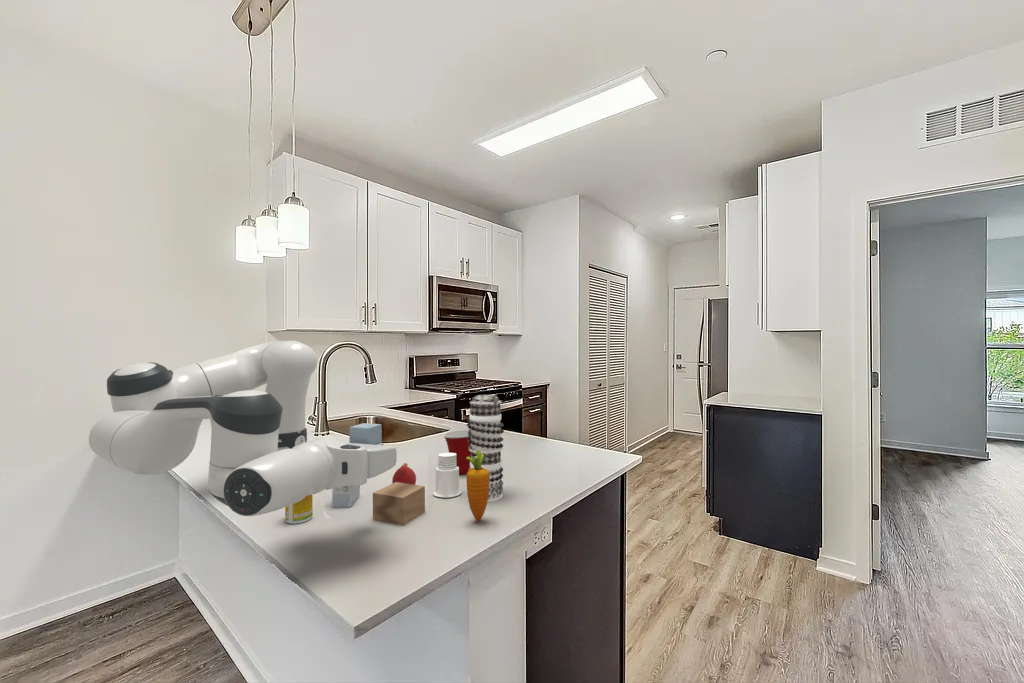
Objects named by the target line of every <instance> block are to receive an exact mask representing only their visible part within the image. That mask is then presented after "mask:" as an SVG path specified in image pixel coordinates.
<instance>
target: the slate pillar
mask: <svg viewBox="0 0 1024 683" xmlns="http://www.w3.org/2000/svg"><path fill="white" fill-rule="evenodd" d="M382 426H383V425H382V424H380V423H369V422H368V423H367V422H366V423H364V422H362V423H359V424H356V425H351V426H350V427H349V442H350V443H359V444H372V445H373V444H376V443H382V442H383V436H382V435H383V433H382V432H383V430H382V429H383V428H382Z"/></svg>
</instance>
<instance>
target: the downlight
mask: <svg viewBox="0 0 1024 683" xmlns="http://www.w3.org/2000/svg"><path fill="white" fill-rule="evenodd" d="M437 458H438V459H437V461H438V462H437V467H436V468H435V490H434V492H433V493H432V494H433V496H435V497H438V498H443V499H448V498H453V497H458V496H460V495H462V490H460V475H459V467H458V466H456V453H449V452H442V453H438V457H437Z"/></svg>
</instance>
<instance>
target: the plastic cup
mask: <svg viewBox="0 0 1024 683" xmlns="http://www.w3.org/2000/svg"><path fill="white" fill-rule="evenodd" d="M469 430H470V429H469V428H465V429H464V428H462V429H457V430H452V431H447V432H445V433H443V434H442V435H443V438H444V439H445V442H446V444H447V448H448V449H447V450H448V453H456V466H458V467H459V476H460V475H461V476H463V475H467V472H468V470H469V468H470V461H469V460H467V459H466V458H467V457H470V458H471V451H469V448H468V446H469V444H471V443H469V442H468V438H469V436H468V431H469Z"/></svg>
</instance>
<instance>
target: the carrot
mask: <svg viewBox="0 0 1024 683" xmlns="http://www.w3.org/2000/svg"><path fill="white" fill-rule="evenodd" d="M476 453H477V456H475V457H474V458H475V460H474V461H473V459H472V458H470V457H467V458H466V459H467V460H469V461H470V462H471V463H472V464H473V466H474V468H471V469H470V470H469V471H468V472H467V474H466V477H465V478H466V494H467V499H468V504H469V509H470V511H471V514H472V516H473V517H474V519H475V521H476V522H477V523H479V522H480V521H482V518H483V516H484V514H485V511H486V509H487V505H488V502H487V501H488V495H489V471H488V470H487V469H485V468H483V467H481V465H482V462H483V459H484V455H483V454H481V451H480V450H477V451H476Z"/></svg>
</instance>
